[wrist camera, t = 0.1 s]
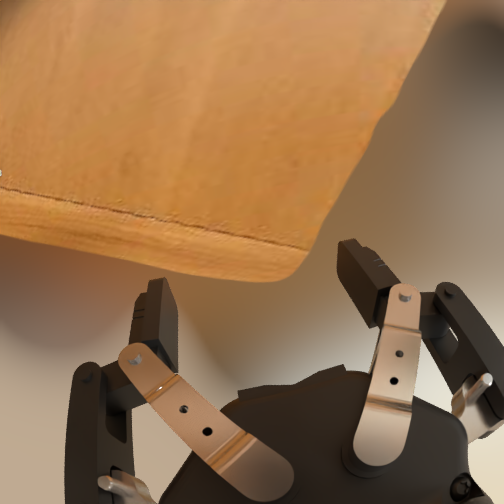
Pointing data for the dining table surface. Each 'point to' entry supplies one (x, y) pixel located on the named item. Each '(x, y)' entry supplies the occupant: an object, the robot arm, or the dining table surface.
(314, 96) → the dining table surface
